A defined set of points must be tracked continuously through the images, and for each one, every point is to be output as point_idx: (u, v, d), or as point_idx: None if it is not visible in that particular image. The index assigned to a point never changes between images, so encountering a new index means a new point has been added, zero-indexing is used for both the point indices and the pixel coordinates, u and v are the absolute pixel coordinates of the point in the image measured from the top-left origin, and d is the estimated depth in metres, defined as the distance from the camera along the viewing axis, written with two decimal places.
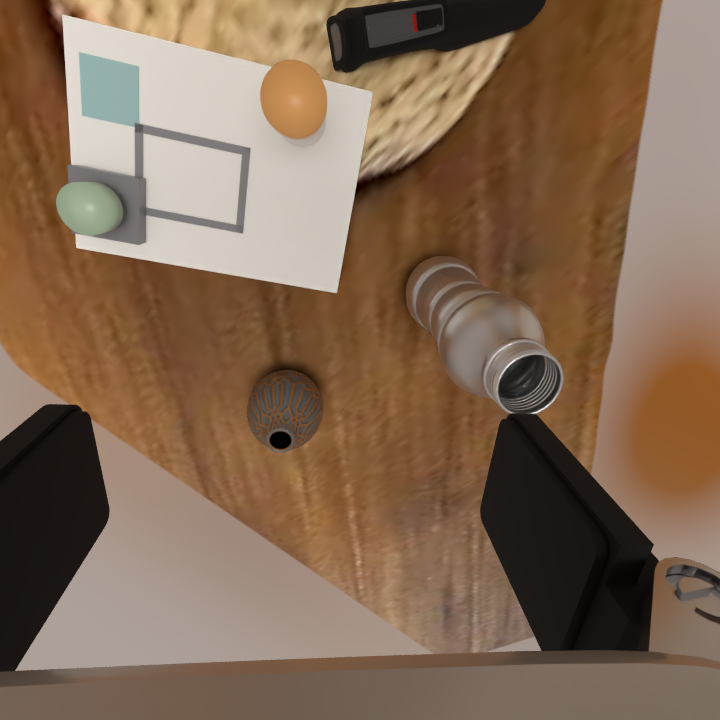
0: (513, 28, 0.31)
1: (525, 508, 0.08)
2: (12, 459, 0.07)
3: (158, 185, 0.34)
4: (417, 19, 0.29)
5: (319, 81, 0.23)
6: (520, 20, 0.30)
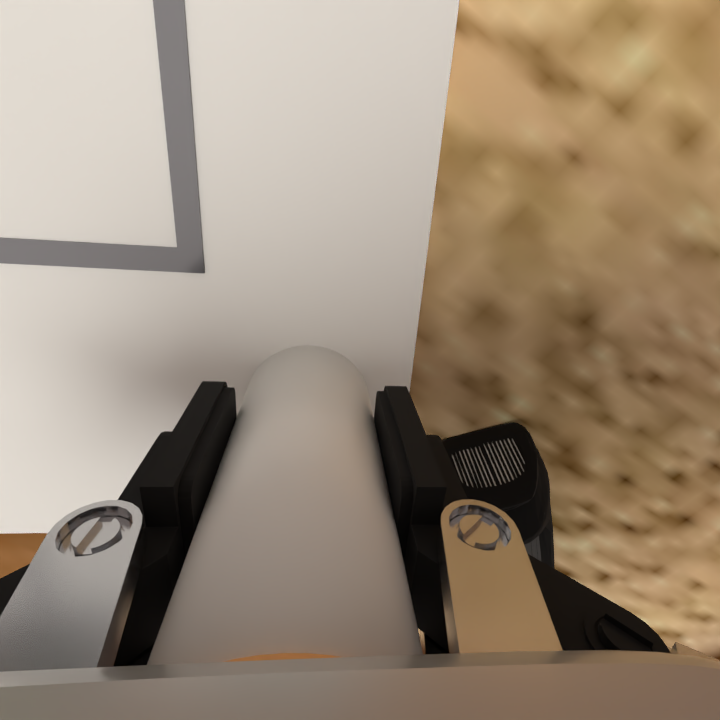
0: None
1: None
2: (203, 422, 0.08)
3: None
4: None
5: None
6: None
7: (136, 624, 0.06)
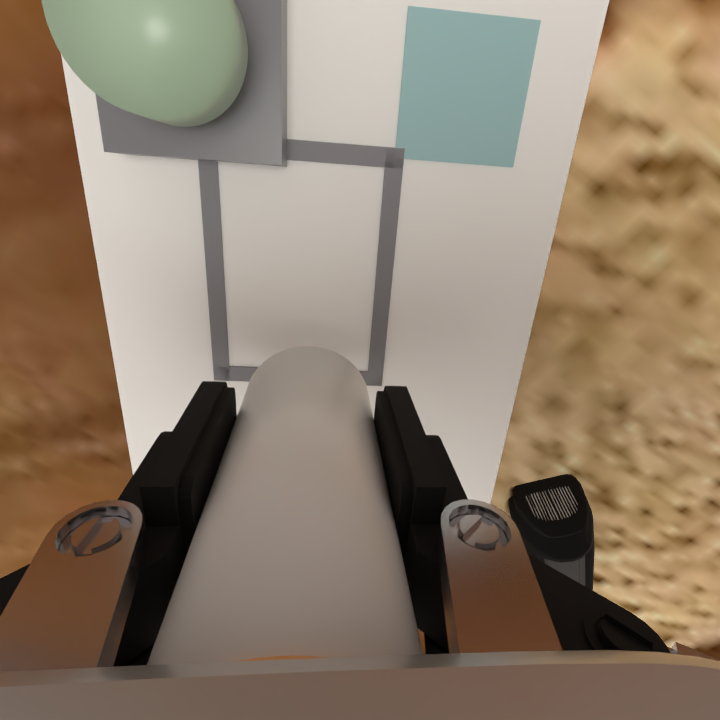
0: None
1: None
2: (203, 422, 0.08)
3: (276, 196, 0.14)
4: None
5: None
6: None
7: (136, 624, 0.06)
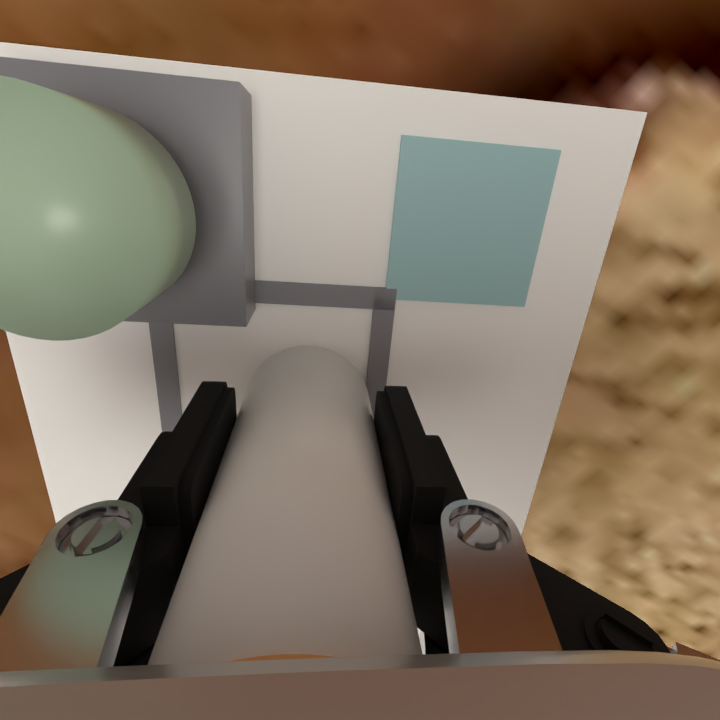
0: None
1: None
2: (203, 422, 0.08)
3: (244, 341, 0.12)
4: None
5: None
6: None
7: (136, 624, 0.06)
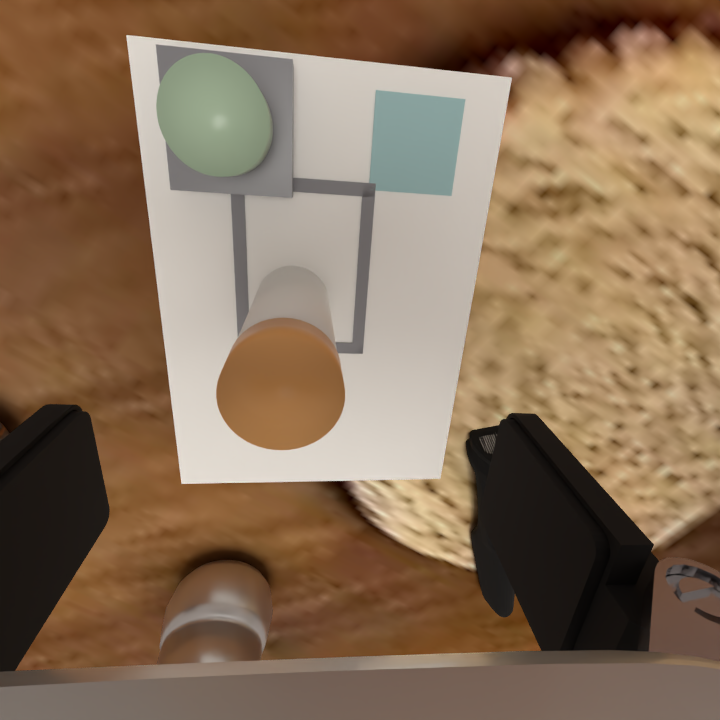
0: (482, 588, 0.31)
1: (525, 508, 0.08)
2: (12, 459, 0.07)
3: (286, 217, 0.20)
4: None
5: (320, 433, 0.13)
6: (489, 596, 0.31)
7: None
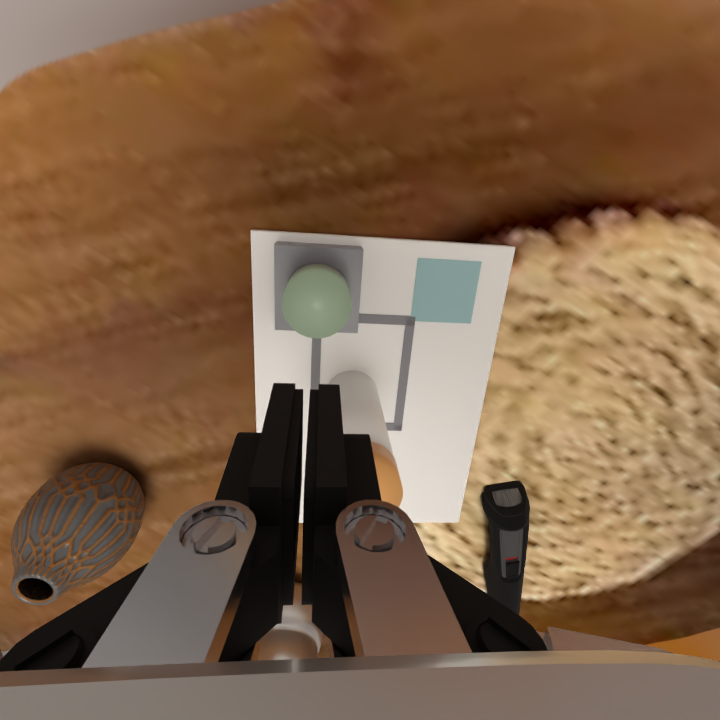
0: None
1: None
2: (287, 423, 0.09)
3: (350, 339, 0.28)
4: (513, 562, 0.34)
5: None
6: None
7: (238, 629, 0.06)
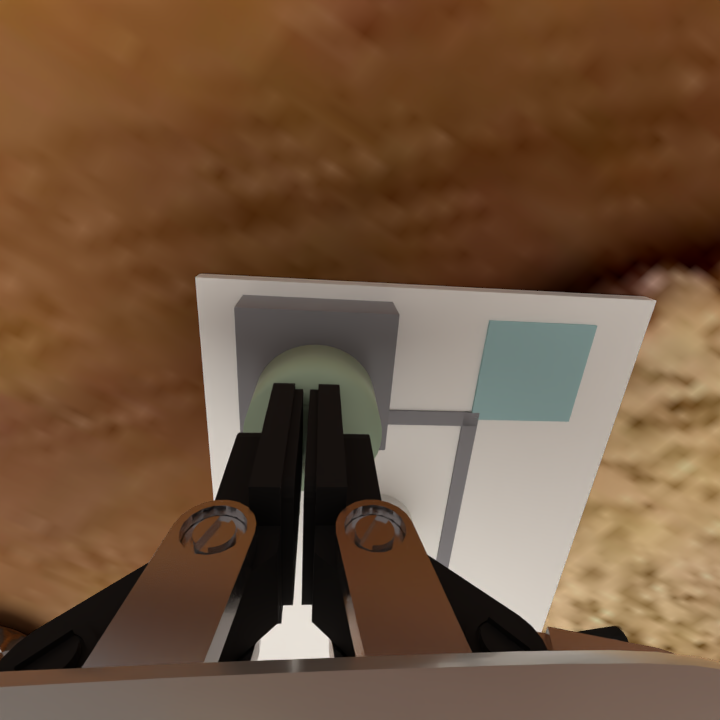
0: None
1: None
2: (287, 423, 0.09)
3: None
4: None
5: None
6: None
7: (238, 629, 0.06)
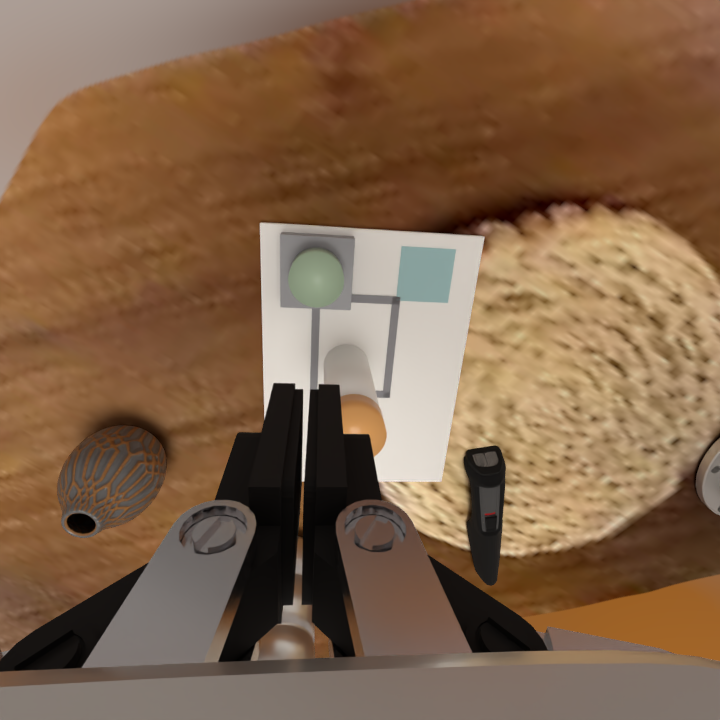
0: (474, 564, 0.43)
1: None
2: (287, 423, 0.09)
3: (344, 316, 0.32)
4: (492, 516, 0.39)
5: None
6: (479, 570, 0.43)
7: (238, 629, 0.06)
